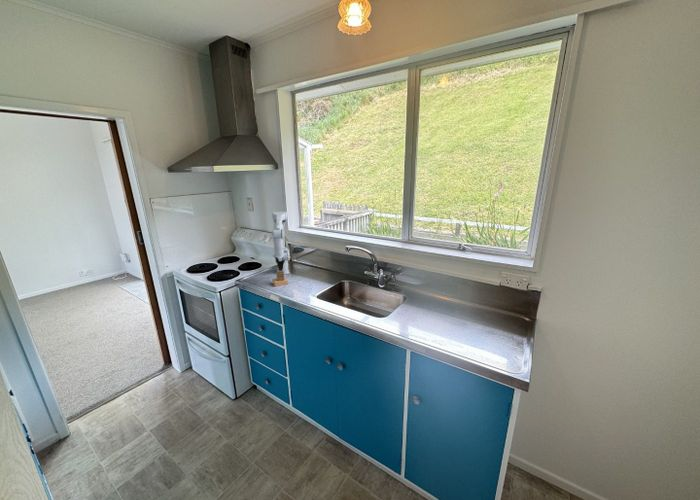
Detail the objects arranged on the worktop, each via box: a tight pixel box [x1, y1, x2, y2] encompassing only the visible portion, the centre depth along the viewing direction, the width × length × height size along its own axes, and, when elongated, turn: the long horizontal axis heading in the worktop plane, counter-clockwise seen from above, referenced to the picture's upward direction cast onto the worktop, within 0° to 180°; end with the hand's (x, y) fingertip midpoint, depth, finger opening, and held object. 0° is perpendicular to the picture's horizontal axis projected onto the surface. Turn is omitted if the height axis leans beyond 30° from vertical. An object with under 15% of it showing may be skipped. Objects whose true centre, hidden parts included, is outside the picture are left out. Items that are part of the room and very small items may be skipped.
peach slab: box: [272, 276, 289, 288], centre depth 183 cm, size 8×8×3 cm
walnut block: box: [275, 270, 285, 281], centre depth 183 cm, size 4×4×5 cm
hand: (280, 268), depth 182 cm, fingers open, 7 cm apart
